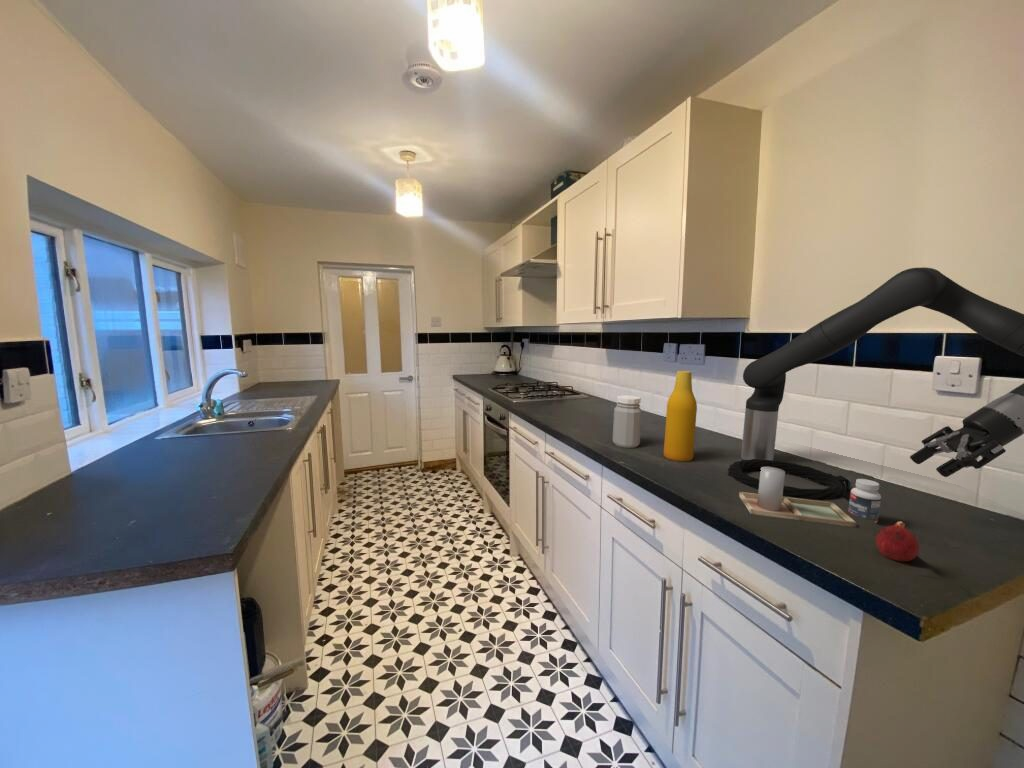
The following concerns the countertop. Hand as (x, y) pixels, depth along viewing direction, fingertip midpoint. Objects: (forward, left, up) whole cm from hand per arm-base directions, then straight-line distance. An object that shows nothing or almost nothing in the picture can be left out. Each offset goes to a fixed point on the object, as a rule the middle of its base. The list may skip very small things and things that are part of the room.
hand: (926, 466), depth 89 cm
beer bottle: (-35, -46, -14) cm, 60 cm away
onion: (+20, -14, -14) cm, 28 cm away
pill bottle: (0, -10, -14) cm, 17 cm away
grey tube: (+3, -30, -12) cm, 33 cm away
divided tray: (+3, -25, -13) cm, 29 cm away
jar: (-45, -63, -14) cm, 79 cm away
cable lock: (-19, -19, -14) cm, 30 cm away
